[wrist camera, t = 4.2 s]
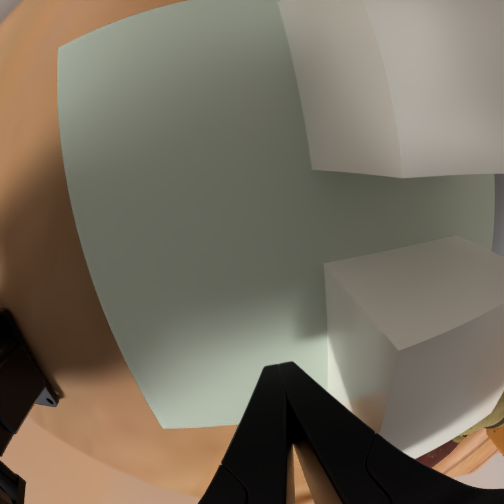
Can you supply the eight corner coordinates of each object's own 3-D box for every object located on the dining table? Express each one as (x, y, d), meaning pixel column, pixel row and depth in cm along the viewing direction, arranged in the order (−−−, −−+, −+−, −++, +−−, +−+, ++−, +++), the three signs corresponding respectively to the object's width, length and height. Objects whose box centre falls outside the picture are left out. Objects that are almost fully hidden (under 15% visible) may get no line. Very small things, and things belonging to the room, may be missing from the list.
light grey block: (312, 170, 7) (402, 178, 3) (277, 2, 5) (312, -94, 1) (454, 161, 7) (553, 174, 3) (422, 21, 5) (499, -18, 1)
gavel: (377, 517, 17) (307, 529, 15) (368, 489, 21) (301, 494, 20) (529, 399, 11) (500, 399, 9) (505, 369, 15) (465, 356, 13)
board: (171, 388, 11) (163, 428, 9) (91, 67, 7) (58, 47, 5) (443, 326, 12) (470, 351, 9) (429, 42, 8) (463, 27, 5)
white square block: (327, 391, 9) (362, 480, 5) (323, 263, 7) (398, 350, 4) (438, 352, 9) (491, 413, 5) (456, 235, 8) (544, 277, 4)
